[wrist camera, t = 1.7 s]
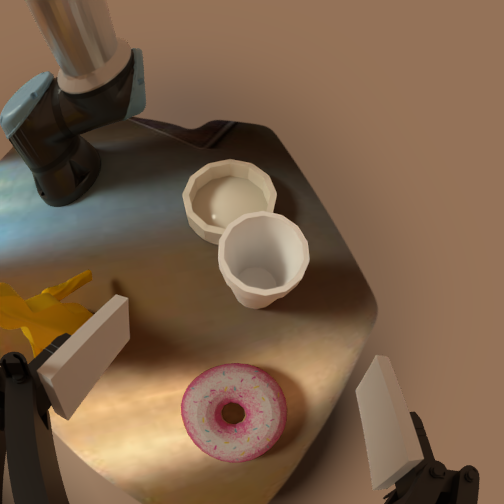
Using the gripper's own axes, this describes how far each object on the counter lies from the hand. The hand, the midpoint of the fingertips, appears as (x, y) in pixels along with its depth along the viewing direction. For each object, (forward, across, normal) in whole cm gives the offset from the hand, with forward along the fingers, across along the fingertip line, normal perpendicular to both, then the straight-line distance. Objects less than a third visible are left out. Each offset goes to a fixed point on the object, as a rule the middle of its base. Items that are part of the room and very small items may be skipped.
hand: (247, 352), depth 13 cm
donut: (+14, +1, -22) cm, 26 cm away
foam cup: (+26, 0, -10) cm, 27 cm away
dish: (+34, -8, -1) cm, 35 cm away
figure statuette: (+16, -25, -19) cm, 35 cm away
